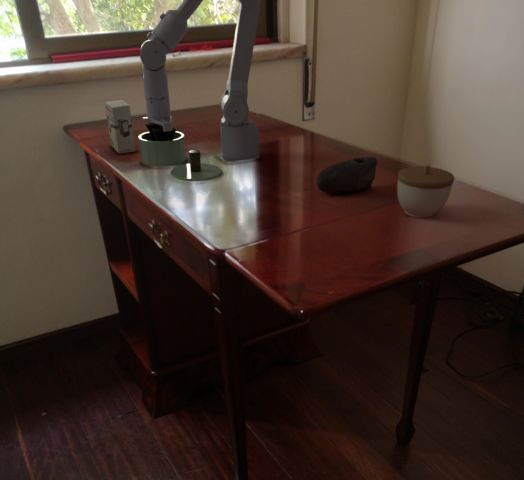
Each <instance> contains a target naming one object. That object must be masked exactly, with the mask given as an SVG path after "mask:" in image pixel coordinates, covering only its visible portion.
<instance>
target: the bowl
mask: <svg viewBox="0 0 524 480" xmlns="http://www.w3.org/2000/svg"><path fill="white" fill-rule="evenodd" d="M137 140H138V148H139V155H140V162H141V163H142V164H144V165H146V166H152V167H170V166H176V165H179V164H180V165H181V164H182V163H184V162H186V161H187V151H186V150H187V149H186V139H185V134H184V133H183V132H180V131H177V130H176V133H175V135H174V137H173V140H169V141H153V140H152V137H151V135H150V133H149V131H147V132H146V131H145V132H142V133H140V134H139V135H138V136H137Z"/></svg>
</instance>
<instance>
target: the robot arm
mask: <svg viewBox="0 0 524 480" xmlns="http://www.w3.org/2000/svg"><path fill="white" fill-rule="evenodd" d="M203 2H204V0H182V1H181V2H180V4H179V5H178V7H177V8H176V9H168V10H167V11H166V12H165V13H164V12H161V14H160V15H159V19H160V20H159V22H158V23H157V25H155V27H154V29H153V30H152V31H151V32H150V31H148V33H147V35H146V37H147V38H148V39H147V40H145V41H143V43H142V44H141V47H140V50H139V59H140V61H141V63H142V68H141V69H142V74H143V76H142V81H143V90H144V98H145V109H146V116H143V117H142V121H143V122H147V123H145V124H144V125H145V127H146V128H147V132H149V133H150V135H151V137H152V140H153V141H169V140H173V137H174V135H175V133H176V131H177V129H176V128H175V127H173V124H172V123H173V122H172V120H173V118H172V113H171V103H170V92H169V82H168V75H167V74H166V61H167V55H168V54H171V53H173V51H174V50H175V48H176V47H177V46H178V44H179V43H180V42H181V40H182V39H183V38H184V36H185V35H186V33H187V32H188V31H189V27H188V20H189V19H190V18H191V17H192V16H193V14H194V13H195V12H196V10H197V9H198V8H199V6H200V5H201V4H203ZM237 2H238V11H237V18H236V24H235V31H234V38H233V46H232V52H231V57H230V58H231V59H230V66H229V72H228V79H227V81H226V83H225V84H226V85H225V90H224V93H223V94H222V96H221V97H220V100H219V108H220V110H221V112H222V114H223V116H222V118H221V119H220V120H219V122H220V123H219V124H220V125H219V126H220V127H219V128H220V147H221V148H220V149H221V152H220V153H216V156H217V157H218V158H220V159H222V160H223V161H224V162H225V163H233V162H241V161H247V160H248V161H249V160H256V159H260V158H261V157H260V132H259V127H258V124H257V123H256V122H255V121H254V120H250V119H249V118H248V117H249V113H250V108H249V104H248V96H249V88H248V87H249V86H248V85H249V79H250V73H251V72H250V71H251V65H252V59H253V53H254V47H255V42H256V35H257V31H258V23H259V19H260V18H259V17H260V10H261V5H262V0H237ZM249 120H250V121H249Z"/></svg>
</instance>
